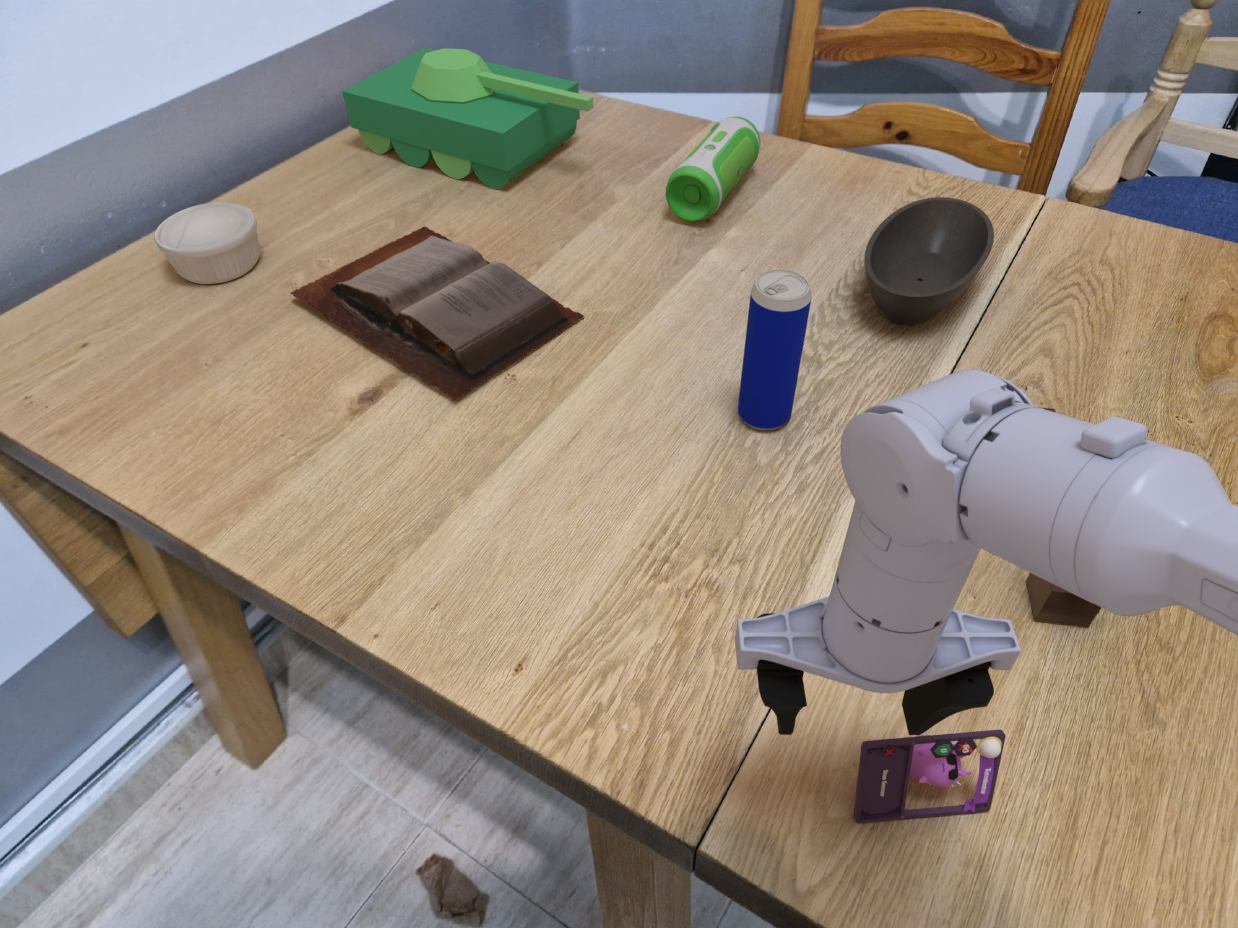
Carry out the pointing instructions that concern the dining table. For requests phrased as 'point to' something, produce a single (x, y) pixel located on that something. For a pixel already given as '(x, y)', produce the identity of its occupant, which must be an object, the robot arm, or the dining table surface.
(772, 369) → the beverage can
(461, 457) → the dining table surface
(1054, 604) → the brown box
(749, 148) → the speaker
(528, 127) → the toy tank
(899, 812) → the game card
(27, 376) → the dining table surface
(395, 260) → the book
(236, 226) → the ramekin
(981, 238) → the bowl
